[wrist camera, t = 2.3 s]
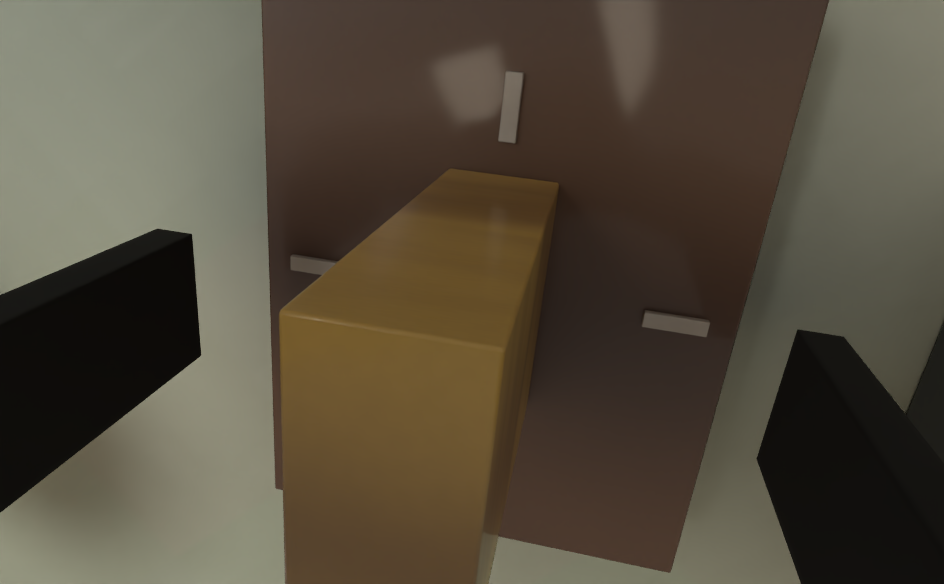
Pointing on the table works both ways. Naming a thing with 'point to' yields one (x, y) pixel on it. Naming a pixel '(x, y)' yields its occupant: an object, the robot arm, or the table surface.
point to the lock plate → (558, 208)
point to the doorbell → (931, 400)
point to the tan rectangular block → (414, 387)
